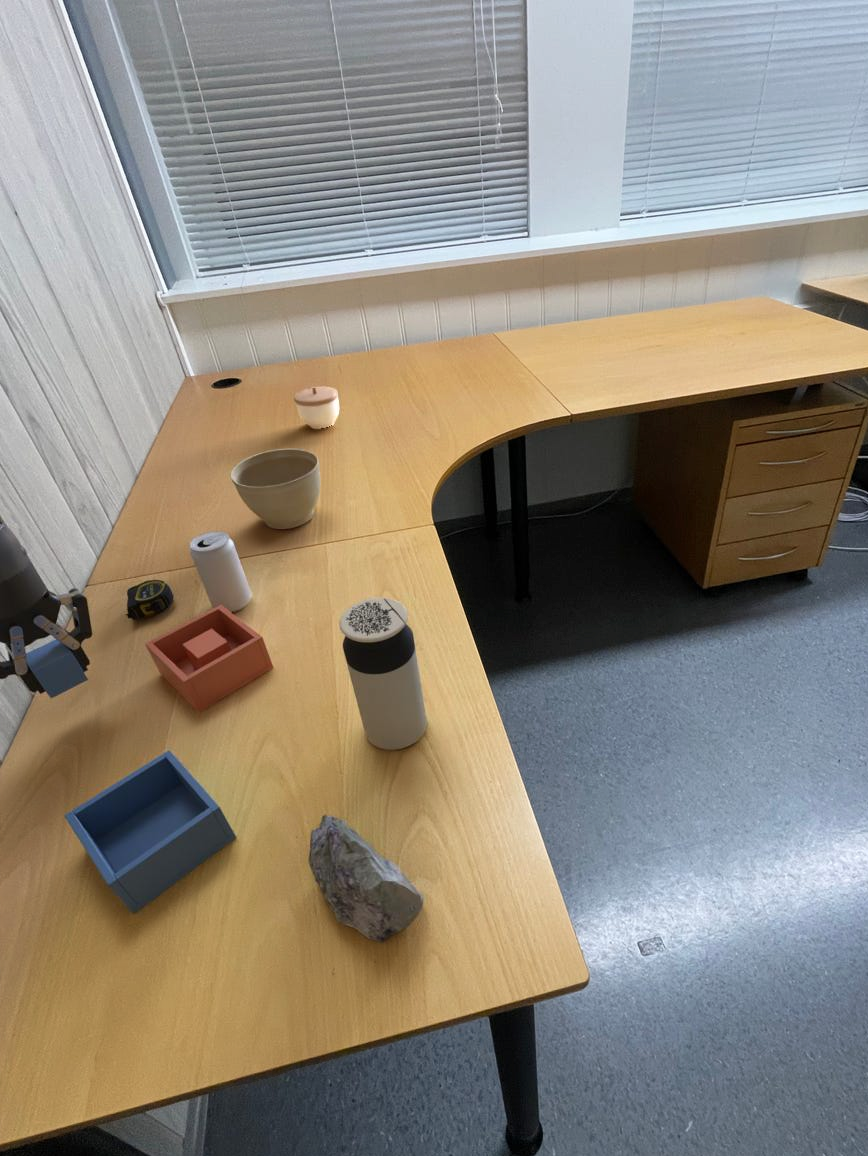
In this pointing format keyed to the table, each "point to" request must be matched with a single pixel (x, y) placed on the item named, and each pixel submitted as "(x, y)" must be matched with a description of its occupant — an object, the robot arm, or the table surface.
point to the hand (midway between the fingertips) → (62, 678)
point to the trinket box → (318, 406)
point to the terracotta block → (206, 648)
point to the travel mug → (384, 672)
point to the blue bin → (150, 830)
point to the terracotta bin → (219, 674)
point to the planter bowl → (279, 486)
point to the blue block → (55, 668)
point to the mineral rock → (361, 882)
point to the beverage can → (220, 570)
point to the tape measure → (148, 599)
